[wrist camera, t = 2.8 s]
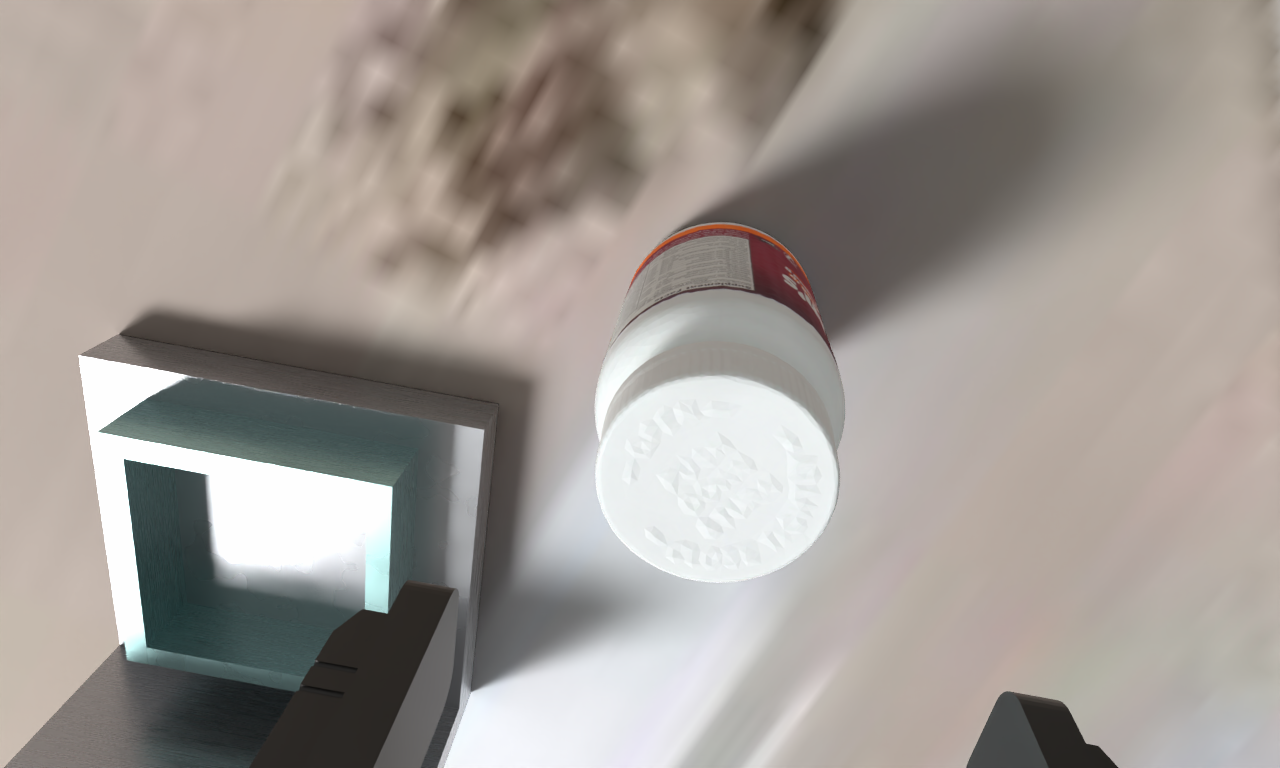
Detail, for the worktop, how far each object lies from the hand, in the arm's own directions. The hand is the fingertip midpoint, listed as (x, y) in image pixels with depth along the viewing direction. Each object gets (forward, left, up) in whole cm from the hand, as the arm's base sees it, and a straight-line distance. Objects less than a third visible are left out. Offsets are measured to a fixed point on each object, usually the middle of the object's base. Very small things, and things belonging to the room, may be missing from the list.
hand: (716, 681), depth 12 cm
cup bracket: (+14, +12, -17) cm, 25 cm away
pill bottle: (0, 0, -17) cm, 17 cm away
